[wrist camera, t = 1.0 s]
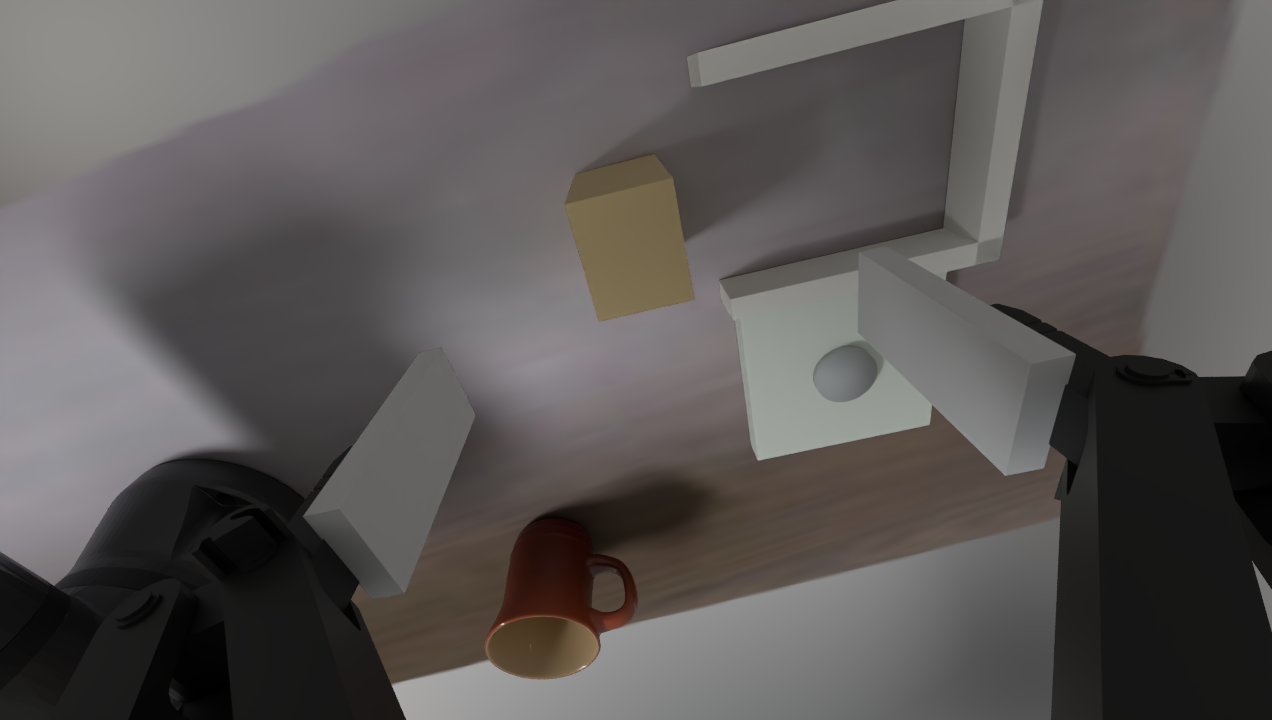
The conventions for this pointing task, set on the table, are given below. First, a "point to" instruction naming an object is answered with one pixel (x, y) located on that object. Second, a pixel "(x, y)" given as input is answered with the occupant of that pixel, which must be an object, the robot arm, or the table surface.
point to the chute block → (629, 237)
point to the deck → (828, 285)
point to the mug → (554, 603)
